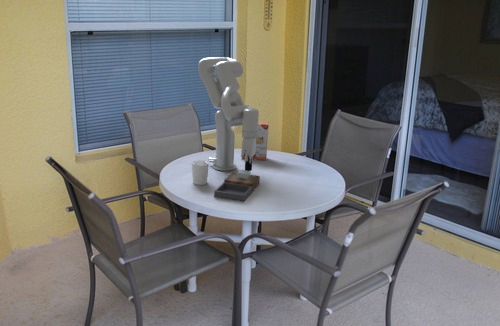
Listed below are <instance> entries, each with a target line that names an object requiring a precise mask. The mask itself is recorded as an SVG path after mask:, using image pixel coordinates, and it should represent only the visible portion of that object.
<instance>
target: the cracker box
mask: <svg viewBox="0 0 500 326" xmlns="http://www.w3.org/2000/svg"><path fill="white" fill-rule="evenodd" d="M269 128H270V127H269V122H264V121H263V122H261V121H260V122H259V121H258V137H257V138H256V152H255V155H254V156H253V159H252V161H267V156H268V155H267V153H268V141H269V138H268V137H269ZM241 160H245V156H244V157H243V158H242V157H241Z"/></svg>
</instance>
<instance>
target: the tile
mask: <svg viewBox="0 0 500 326" xmlns="http://www.w3.org/2000/svg"><path fill="white" fill-rule="evenodd" d="M236 173H237V178H244V179H247V178H248V177H249V176H250V175H251V171H246V170H245V169H239V170H238V171H237V172H236Z"/></svg>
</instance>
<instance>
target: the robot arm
mask: <svg viewBox="0 0 500 326" xmlns="http://www.w3.org/2000/svg"><path fill="white" fill-rule="evenodd" d="M197 67H198V76H199V78H200V80H201V82H202V83H203V85H204V87H205V89H206V92H207V94H208V97H209V99H210V101H211V104H212V106H213V108H215V109H219V110H217V111H216V112H215V114H214V121H215V128H216V130H215V131H216V132H215V133H216V136H215V141H216V142H215V157H214V158H213V157H208V163H212V169H213V170H217V171H221V172H222V171H223V172H228V171H229V172H230V171H234V170H236V169H237V165H236V164H235V163H234V162H235V161H234V160H235V136H236V135H235V133H234V131H233V130H232V127H240V126H242V129H241V137H242V141H241V151H240V152H241V153H240V157H241V159H242V158H243V157H244V156H245V159H244V170H246V171H250V172H251V171H253V160H252V159H253V156H254V155H255V152H256V138H257V137H258V122H259V116H260V114H259V113H260V112H259V110H258V109H257V108H254V107H252V106H250V105H247V104H244V101H243V99H242V96H241V94H240V93H239V92H238V91H239V89H240V88H241V87H240V83H239V81H238V78H240V77H242V76H243V74H244V67H243V65H242V64H241V62H240V61H238V60H237V59H234V58H230V57H227V56H224V57H223V56H221V57H220V56H218V57H217V56H216V57H215V56H212V57H211V56H209V57H204V58H202V59H200V60H199V62H198V66H197Z"/></svg>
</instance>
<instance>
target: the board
mask: <svg viewBox="0 0 500 326" xmlns="http://www.w3.org/2000/svg"><path fill="white" fill-rule="evenodd" d="M260 179H261V176H260V175H256V174H255V175H254V174H250V176H249V177H248V178H247V179H244V178H237V172H233V171H232V172H231V173H230V174H229V175H228V176H227V177H226V178H224V181H223V182H225V183H232V184H239V185H246V186H252V193H253V192H254V191H255V190H256V189H257V188H258V186H259V185H260V181H261V180H260Z"/></svg>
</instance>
